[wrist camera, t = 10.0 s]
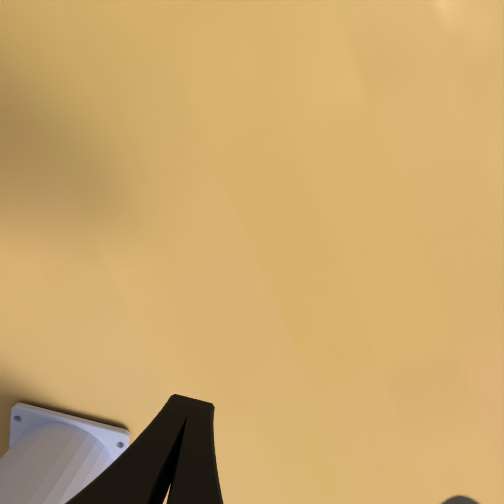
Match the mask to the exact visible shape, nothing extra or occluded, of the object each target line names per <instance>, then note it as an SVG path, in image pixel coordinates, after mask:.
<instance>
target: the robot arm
mask: <svg viewBox="0 0 504 504" xmlns="http://www.w3.org/2000/svg"><path fill="white" fill-rule="evenodd" d="M214 408H215V407H214V406H213V404H212V403H208V402H205V401H201V400H197V399H193V398H189V397H185V396H181V395H177V394H174V395H172V396H171V397H170V398H169V400H168V401H167V403H166V404H165V406H164V407H163V408H162V410H161V411H160V412H159V413H158V415H157V416H156V417H155V418H154V419H153V421H152V422H151V423H150V424H149V425H148V426H147V428H146V429H145V430H144V431H143V432H142V433H141V434H140V435H139V436H138V437H137V439H136V440H135V441H134V442H133V443H132V444H131V445H130V446H129V443H130V437H131V435H130V433H129V431H127V430H126V429H122V428H118V427H114V426H110V425H107V424H103V423H99V422H95V421H91V420H87V419H83V418H79V417H75V416H71V415H67V414H63V413H60V412H56V411H52V410H48V409H44V408H40V407H36V406H32V405H28V404H24V403H17V404H15V405H14V406H13V407H12V409H11V420H10V439H9V450H8V451H7V452H6V453H5V454H4V455H3V457H2V458H1V459H0V504H163V502H164V499H165V497H166V494H167V492H168V489H169V486H170V490H169V495H168V499H167V504H223V500H222V495H221V489H220V484H219V478H218V471H217V464H216V456H215V447H214V431H213V418H214ZM121 442H122V443H121ZM170 484H171V485H170Z"/></svg>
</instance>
